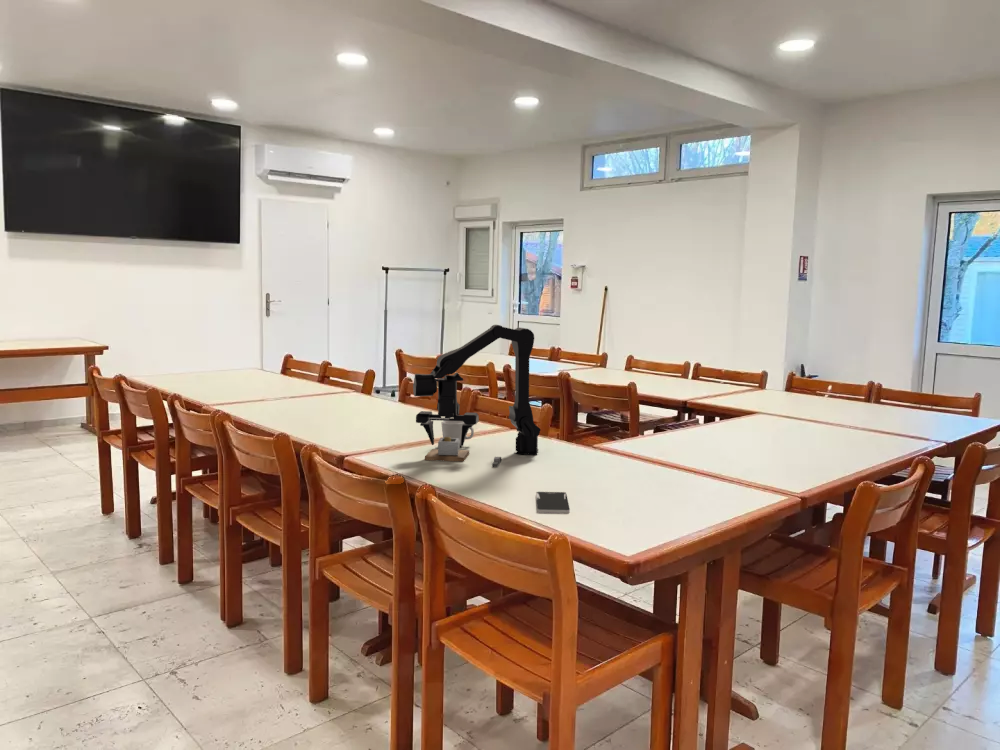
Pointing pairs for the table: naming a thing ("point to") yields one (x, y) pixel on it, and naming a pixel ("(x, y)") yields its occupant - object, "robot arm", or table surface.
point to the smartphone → (552, 502)
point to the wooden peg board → (434, 455)
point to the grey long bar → (496, 461)
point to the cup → (454, 429)
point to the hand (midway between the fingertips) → (447, 445)
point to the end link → (449, 446)
